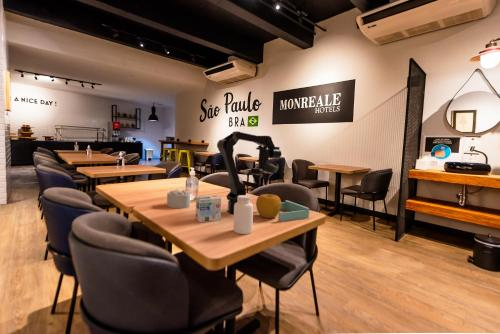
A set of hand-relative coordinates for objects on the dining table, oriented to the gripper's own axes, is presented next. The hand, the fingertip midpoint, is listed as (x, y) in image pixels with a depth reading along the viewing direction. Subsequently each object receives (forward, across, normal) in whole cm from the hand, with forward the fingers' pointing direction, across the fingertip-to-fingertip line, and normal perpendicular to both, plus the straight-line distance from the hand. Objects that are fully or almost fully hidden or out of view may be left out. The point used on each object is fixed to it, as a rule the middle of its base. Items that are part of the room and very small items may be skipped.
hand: (261, 185), depth 148 cm
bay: (+13, -3, -15) cm, 20 cm away
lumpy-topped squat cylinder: (+15, -23, +39) cm, 48 cm away
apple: (+14, -11, -10) cm, 20 cm away
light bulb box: (+15, -33, +10) cm, 38 cm away
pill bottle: (+14, -37, -12) cm, 42 cm away
